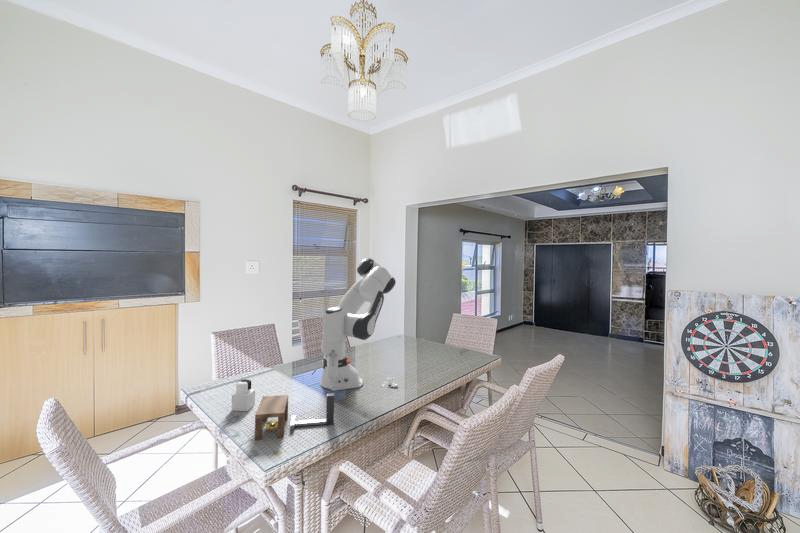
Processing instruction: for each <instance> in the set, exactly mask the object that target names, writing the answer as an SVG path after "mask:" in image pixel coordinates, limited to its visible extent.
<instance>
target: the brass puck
mask: <svg viewBox="0 0 800 533" xmlns="http://www.w3.org/2000/svg"><path fill="white" fill-rule="evenodd" d="M265 431H267V432H275V431H278V420H269V421H266V423H265Z"/></svg>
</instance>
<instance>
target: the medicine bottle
mask: <svg viewBox="0 0 800 533" xmlns="http://www.w3.org/2000/svg"><path fill="white" fill-rule="evenodd" d="M235 383H236V384H235V385H236V386H235V387H236V389H235V390H236V391H235V392H234V393H232V395H231V411H233V412H249V410H250V409H251V408H253V407H254V406H255V404H256V389H255V388H252V380H250V379H247V378H246V379H241V380H238V381H237V382H235Z"/></svg>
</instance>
